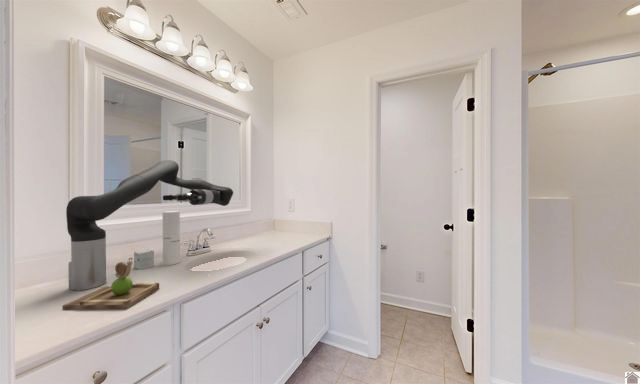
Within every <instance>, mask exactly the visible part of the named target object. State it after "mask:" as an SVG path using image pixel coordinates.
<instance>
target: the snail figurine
mask: <svg viewBox="0 0 640 384" xmlns="http://www.w3.org/2000/svg"><path fill="white" fill-rule="evenodd" d="M128 260H129V261H127V262H124V261H121V262H118V263H116V265H115V267H114V269H115V277H116V279H115V280H114V281H113V282H112V284H111V291H112V292H113V293H114V294H116V295H123V294H126V293H127V292H129V291H130V290H131V288H132V286H133V283H134V282H133V279H131V278H130V277H129V275H130V273H131V271H132V265H133V262H132V261H133V260H134V257H129V258H128Z"/></svg>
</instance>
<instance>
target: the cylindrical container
mask: <svg viewBox="0 0 640 384" xmlns="http://www.w3.org/2000/svg"><path fill="white" fill-rule="evenodd" d="M180 214H181V212H180V211H179V210H169V211H162V265H163V266H171V265H177V264H179V263H181V217H180V216H181V215H180Z"/></svg>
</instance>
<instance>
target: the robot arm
mask: <svg viewBox="0 0 640 384" xmlns="http://www.w3.org/2000/svg"><path fill="white" fill-rule="evenodd" d="M179 168H180V167H179V164H178V163H177V162H176V161H174V160H171V159H166V160H162V161H161V160H160V161H159V162H157V163H156V164H154V165H153V166H151V167H149V168H148V169H145V170H142V171H141V172H139V173H137V174H134V175H132V176H129V177H127V178H125V179H123V180H122V181H120V183H119V184H118V185H117V186H116V188H114V189H113V190H111V191H108V192H105V193H103V194H99V195H79V196H74V197H73V198H72V199H70V200H69V202H68V203H67V206H66V209H65V210H66V212H65V213H66V227H67V233H68V234H69V236H70V247H71V248H70V250H71V253H70V255H71V258H70V259H71V260H70V261H68V289H69V290H72V291H83V290H90V289H94V288H97V287H100V286H103V285H105V284H106V283H107V236H106V235H107V232H106V230H105V229H103V228H101V226H98V224H97V221H101V220H104V219H106V218H108V217H109V216H110V215H112V214H114V213H115V212H116V211H118V210H119V209H120V208H122V207H123V206H126V205H127V204H129V203H130V202H133V201H134V200H136V199H138V198H139V197H142V196H144V195H145V194H148V193H149V192H150V191H152V189H153V188H155V186H156V185H157V184H158V183H159V181H160V182H162V183H164V184H167V185H171V186H176V187H180V188H184V189H187V190H190V191H189V192H187V193H186V192H185V193H177V194H167V195H165V194H164V195H162V200H163V201H172V202H173V201H176V202H184V203H186V202H188V203H189V204H190V205H191V206H201V205H202V206H203V205H208V204H214V205H215V204H216V205H220V206H222V207H225V206H228V205H229V204H230V202H231V200H232V197H233V195H234V191H233V189H232V188H231V187H228V186H220V185H216V184H213V183H210V182H208V181H205V180H202V179H184V178H183V179H182V178H180V177H178V173H179V170H180V169H179Z"/></svg>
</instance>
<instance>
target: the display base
mask: <svg viewBox="0 0 640 384" xmlns="http://www.w3.org/2000/svg"><path fill="white" fill-rule="evenodd" d="M111 286H112V285H111ZM111 286H110V285H109V286H106V285H105V286H104V287H101V288H99V289H97V290H95V291H94V290H93V292H89V293H88V294H85V295H83V296H80V297H78V298H77V299H76V298H75V299H74V300H71V301H69V302H67V303H64V304H62V310H118V309H119V310H122V309H123V310H126V309H127V308H128V309H129V308H131V307H132V306H135V305H136V304H138V303H139V302H141V301H142V300H144V299H146V298H147V297H149V296H151V295H152V294H154V293H156V292H157V291H159V290H160V282H144V283H143V282H139V283H138V282H137V283H135V282H133V286H132V288H131V290H130V291H129V292H127V293H126V294H123V295H116V294H114V293H113V292H112V291H111Z"/></svg>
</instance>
